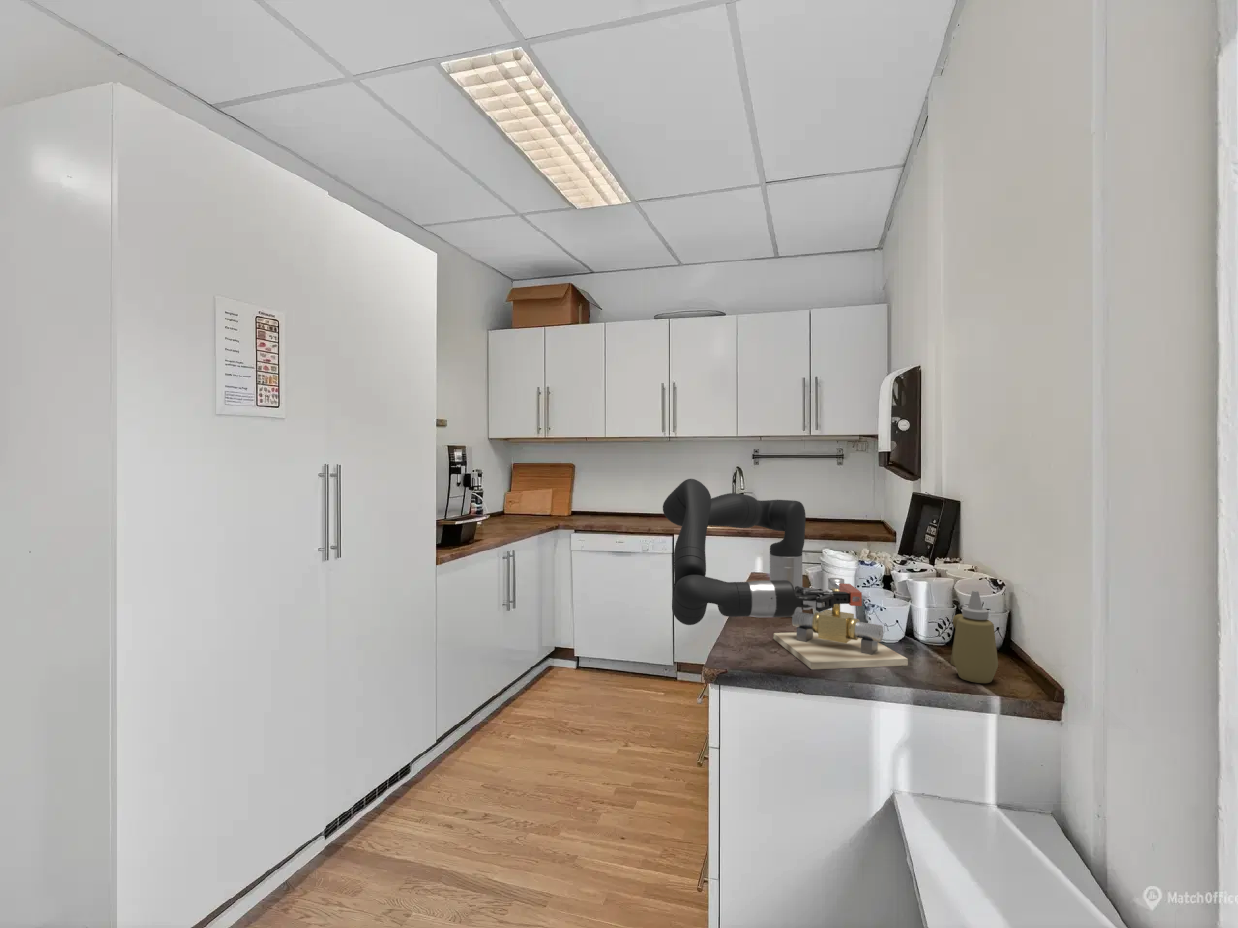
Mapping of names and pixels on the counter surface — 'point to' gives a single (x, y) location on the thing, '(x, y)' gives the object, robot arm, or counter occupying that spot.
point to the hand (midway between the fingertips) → (848, 597)
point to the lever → (846, 590)
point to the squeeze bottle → (975, 643)
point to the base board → (837, 653)
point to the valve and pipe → (838, 628)
